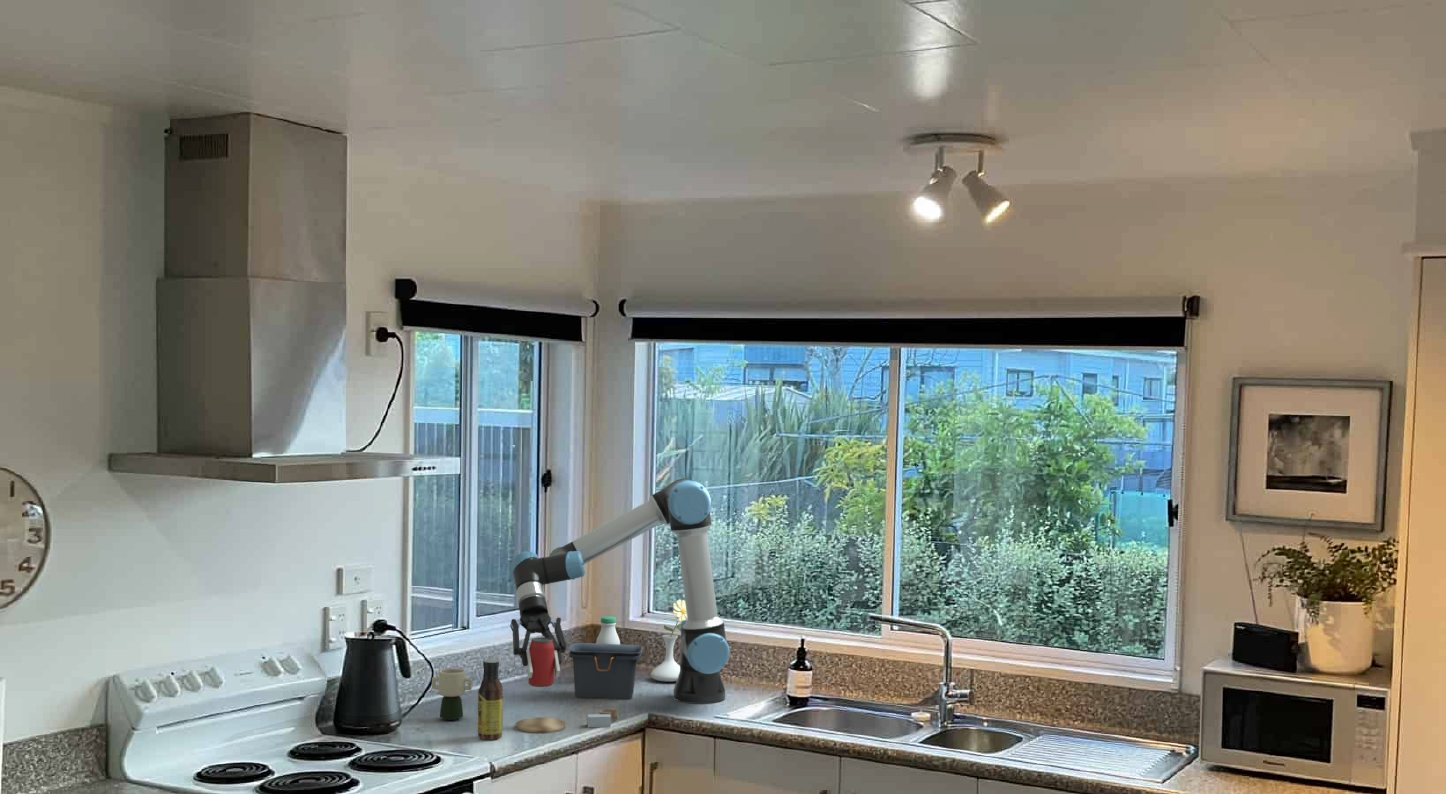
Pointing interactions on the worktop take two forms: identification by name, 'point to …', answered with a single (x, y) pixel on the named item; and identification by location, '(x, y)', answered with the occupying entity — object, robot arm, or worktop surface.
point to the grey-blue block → (599, 720)
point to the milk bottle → (608, 631)
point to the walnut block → (611, 713)
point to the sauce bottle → (490, 702)
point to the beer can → (542, 662)
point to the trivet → (540, 725)
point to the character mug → (451, 691)
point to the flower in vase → (671, 648)
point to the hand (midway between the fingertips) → (544, 674)
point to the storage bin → (604, 669)
